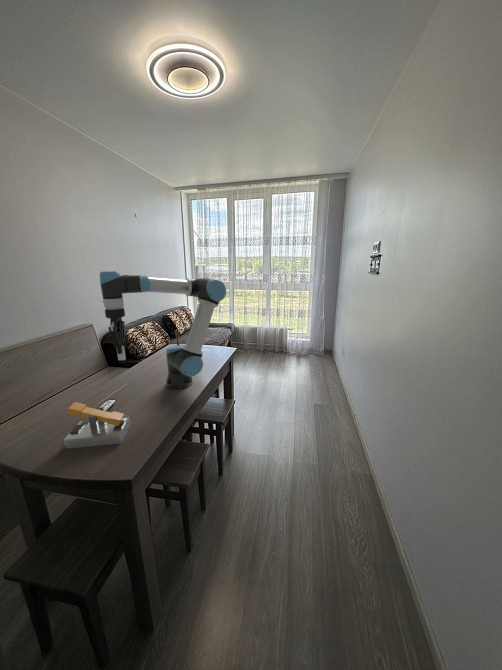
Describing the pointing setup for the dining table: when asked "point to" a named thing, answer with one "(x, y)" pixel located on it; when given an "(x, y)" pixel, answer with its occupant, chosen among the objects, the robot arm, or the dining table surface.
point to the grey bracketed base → (96, 433)
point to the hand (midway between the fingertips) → (122, 359)
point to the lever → (95, 413)
